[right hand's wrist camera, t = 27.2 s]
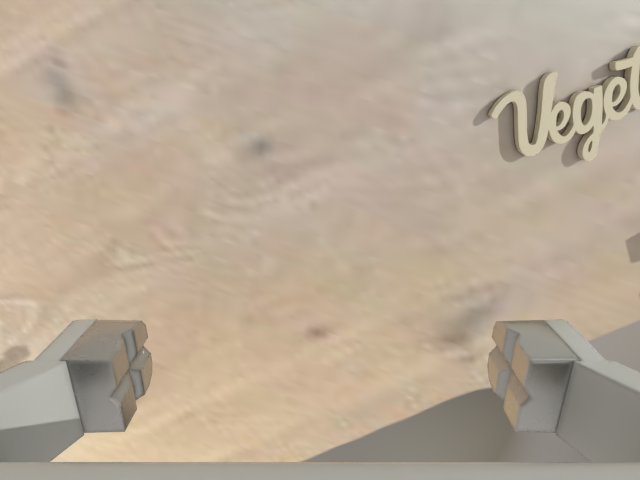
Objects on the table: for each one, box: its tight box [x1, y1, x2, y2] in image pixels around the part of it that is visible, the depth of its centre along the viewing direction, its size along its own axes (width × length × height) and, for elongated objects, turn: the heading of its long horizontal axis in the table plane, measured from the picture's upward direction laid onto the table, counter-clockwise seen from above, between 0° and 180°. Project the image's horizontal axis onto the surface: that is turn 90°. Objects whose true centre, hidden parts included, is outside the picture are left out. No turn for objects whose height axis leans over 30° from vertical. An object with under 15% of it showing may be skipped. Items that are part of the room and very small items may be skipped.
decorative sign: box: [488, 46, 640, 161], centre depth 43 cm, size 26×1×10 cm
